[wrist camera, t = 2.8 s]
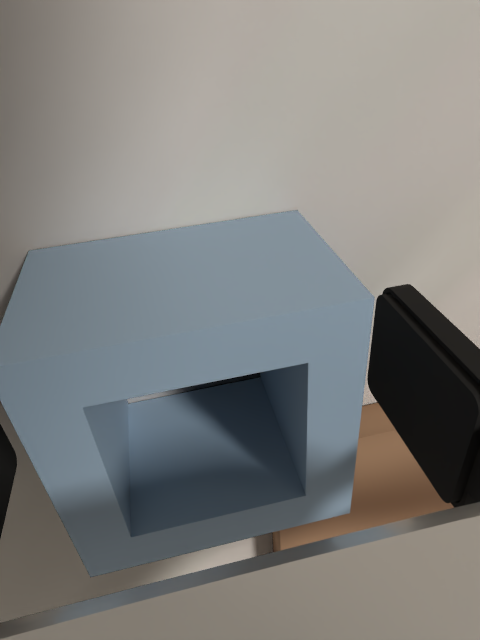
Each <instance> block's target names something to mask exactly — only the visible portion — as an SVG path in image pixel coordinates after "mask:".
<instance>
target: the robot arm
mask: <svg viewBox="0 0 480 640" xmlns="http://www.w3.org/2000/svg"><path fill="white" fill-rule="evenodd" d="M368 385H369V389H370V391H371V393H372V394H373V396H374V397H375V399H376V400H377V402H378V404H379V405H380V407H381V408H382V410H383V411H384V413H385V414H386V416H387V417H388V419H389V420H390V422H391V423H392V425H393V426H394V428H395V429H396V431H397V432H398V434H399V435H400V437H401V438H402V440H403V441H404V443H405V445H406V446H407V448H408V449H409V451H410V452H411V454H412V455H413V457H414V458H415V460H416V461H417V463H418V464H419V466H420V467H421V469H422V470H423V472H424V473H425V475H426V476H427V478H428V479H429V481H430V482H431V484H432V486H433V487H434V489H435V490H436V492H437V493H438V495H439V496H440V498H441V499H442V500H443V501H444V502H445V503H451V504H452V505H453V507H454V508H451V509H447V510H442V511H438V512H434V513H429V514H425V515H421V516H417V517H413V518H409V519H405V520H401V521H397V522H393V523H389V524H385V525H381V526H377V527H373V528H369V529H365V530H360V531H356V532H352V533H348V534H344V535H340V536H336V537H332V538H328V539H324V540H320V541H316V542H312V543H308V544H304V545H300V546H296V547H292V548H288V549H285V550H281V551H277V552H273V553H269V554H265V555H261V556H257V557H253V558H249V559H245V560H241V561H237V562H233V563H229V564H225V565H221V566H217V567H214V568H210V569H206V570H202V571H198V572H194V573H190V574H186V575H182V576H178V577H174V578H170V579H166V580H163V581H159V582H155V583H151V584H147V585H143V586H139V587H136V588H132V589H128V590H124V591H120V592H116V593H112V594H109V595H105V596H101V597H97V598H93V599H89V600H85V601H82V602H78V603H74V604H70V605H66V606H62V607H58V608H55V609H51V610H47V611H43V612H39V613H35V614H31V615H28V616H24V617H20V618H17V619H13V620H9V621H6V622H2V623H0V640H480V349H479V348H478V347H477V346H476V345H475V344H474V343H473V342H472V341H470V340H469V339H468V338H467V337H466V336H465V335H464V334H463V333H462V332H461V331H460V330H459V329H458V328H457V327H456V326H454V325H453V324H452V323H451V322H450V321H449V320H448V319H447V318H446V317H445V316H444V315H443V314H442V313H441V312H440V311H439V310H437V309H436V308H435V307H434V306H433V305H432V304H431V303H430V302H429V301H428V300H427V299H426V298H425V297H424V296H423V295H421V294H420V293H419V292H418V291H417V290H416V289H415V288H414V287H413V286H411V285H410V284H406V285H401V286H395V287H390V288H386V289H385V290H384V291H383V294H382V295H379V296H378V298H377V301H376V309H375V318H374V327H373V335H372V344H371V352H370V361H369V370H368ZM16 467H17V458H16V453H15V451H14V449H13V447H12V445H11V443H10V441H9V439H8V437H7V436H6V434H5V432H4V430H3V428H2V426H1V424H0V538H1V533H2V529H3V525H4V520H5V516H6V512H7V507H8V503H9V498H10V494H11V490H12V485H13V481H14V476H15V472H16Z"/></svg>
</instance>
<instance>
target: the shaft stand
mask: <svg viewBox="0 0 480 640" xmlns="http://www.w3.org/2000/svg"><path fill="white" fill-rule="evenodd" d="M451 508H454V507H453V505H452V504H451V503H445V502H444V501H443V500H442V499H441V498H440V496H439V495H438V493H437V492H436V490H435V489H434V487H433V486H432V484H431V482H430V481H429V479H428V478H427V476H426V475H425V473H424V472H423V470H422V469H421V467H420V466H419V464H418V463H417V461H416V460H415V458H414V457H413V455H412V454H411V452H410V451H409V449H408V448H407V446H406V445H405V443H404V441H403V440H402V438H401V437H400V435H399V434H398V432H397V431H396V429H395V428H394V426H393V425H392V423H391V422H390V420H389V419H388V417H387V416H386V414H385V413H384V411H383V410H382V408H381V407H380V405H379V404H378V403H374V404H370V405H365V406H362V411H361V420H360V429H359V438H358V447H357V455H356V464H355V473H354V482H353V490H352V499H351V508H350V513H348V514H344V515H340V516H336V517H332V518H328V519H324V520H320V521H316V522H312V523H308V524H304V525H300V526H296V527H292V528H288V529H284V530H280V531H276V532H272V534H273V552H277V551H281V550H285V549H288V548H292V547H296V546H300V545H304V544H308V543H312V542H316V541H320V540H324V539H328V538H332V537H336V536H340V535H344V534H348V533H352V532H356V531H360V530H365V529H369V528H373V527H377V526H381V525H385V524H389V523H393V522H397V521H401V520H405V519H409V518H413V517H417V516H421V515H425V514H429V513H434V512H438V511H442V510H447V509H451Z"/></svg>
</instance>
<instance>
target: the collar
mask: <svg viewBox="0 0 480 640" xmlns="http://www.w3.org/2000/svg"><path fill="white" fill-rule="evenodd" d="M373 306H374V297H373V295H372V294H371V293H370V292H369V291H368V290H367V289H366V287H365V286H364V285H363V284H362V283H361V282H360V281H359V280H358V278H357V277H356V276H355V275H354V274H353V273H352V272H351V270H350V269H349V268H348V267H347V266H346V265H345V264H344V263H343V261H342V260H341V259H340V258H339V257H338V256H337V255H336V253H335V252H334V251H333V250H332V249H331V248H330V247H329V246H328V244H327V243H326V242H325V241H324V240H323V239H322V238H321V237H320V235H319V234H318V233H317V232H316V231H315V230H314V229H313V227H312V226H311V225H310V224H309V223H308V222H307V221H306V220H305V218H304V217H303V216H302V215H301V214H300V213H299V212H298V210H295V211H288V212H281V213H275V214H268V215H261V216H255V217H248V218H242V219H235V220H228V221H222V222H215V223H209V224H202V225H195V226H189V227H182V228H176V229H169V230H162V231H156V232H149V233H143V234H136V235H129V236H123V237H116V238H110V239H103V240H96V241H90V242H83V243H77V244H70V245H63V246H57V247H50V248H43V249H37V250H30V251H28V254H27V257H26V259H25V262H24V265H23V267H22V270H21V273H20V275H19V278H18V280H17V283H16V286H15V288H14V291H13V294H12V296H11V299H10V302H9V304H8V307H7V310H6V312H5V315H4V317H3V320H2V323H1V325H0V401H1V403H2V405H3V407H4V409H5V411H6V413H7V415H8V417H9V419H10V421H11V423H12V425H13V427H14V429H15V430H16V432H17V434H18V436H19V438H20V440H21V442H22V444H23V446H24V448H25V450H26V452H27V454H28V456H29V458H30V460H31V462H32V464H33V466H34V468H35V470H36V472H37V474H38V475H39V477H40V479H41V481H42V483H43V485H44V487H45V489H46V491H47V493H48V495H49V497H50V499H51V501H52V503H53V505H54V507H55V509H56V511H57V513H58V515H59V517H60V519H61V520H62V522H63V524H64V526H65V528H66V530H67V532H68V534H69V536H70V538H71V540H72V542H73V544H74V546H75V548H76V550H77V552H78V554H79V556H80V558H81V560H82V562H83V564H84V565H85V567H86V569H87V571H88V573H89V575H90V577H94V576H98V575H102V574H106V573H110V572H114V571H118V570H122V569H126V568H130V567H134V566H138V565H142V564H146V563H150V562H154V561H158V560H163V559H167V558H171V557H175V556H179V555H183V554H187V553H191V552H195V551H199V550H203V549H207V548H211V547H215V546H219V545H223V544H227V543H231V542H235V541H239V540H243V539H247V538H251V537H255V536H259V535H263V534H267V533H271V532H276V531H280V530H284V529H288V528H292V527H296V526H300V525H304V524H308V523H312V522H316V521H320V520H324V519H328V518H332V517H336V516H340V515H344V514H348V513H350V508H351V499H352V490H353V482H354V473H355V464H356V455H357V447H358V438H359V429H360V420H361V411H362V403H363V394H364V385H365V376H366V368H367V359H368V350H369V341H370V333H371V324H372V315H373ZM259 372H260V376H261V377H260V378H255V379H250V380H245V381H240V382H235V383H230V384H225V385H220V386H215V387H210V388H205V389H200V390H195V391H190V392H185V393H180V394H175V395H170V396H165V397H160V398H155V399H150V400H145V401H140V402H135V403H130V404H128V401H127V399H129V398H134V397H139V396H144V395H149V394H154V393H159V392H164V391H169V390H174V389H179V388H184V387H189V386H194V385H199V384H204V383H209V382H214V381H219V380H224V379H229V378H234V377H239V376H244V375H249V374H254V373H259Z"/></svg>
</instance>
